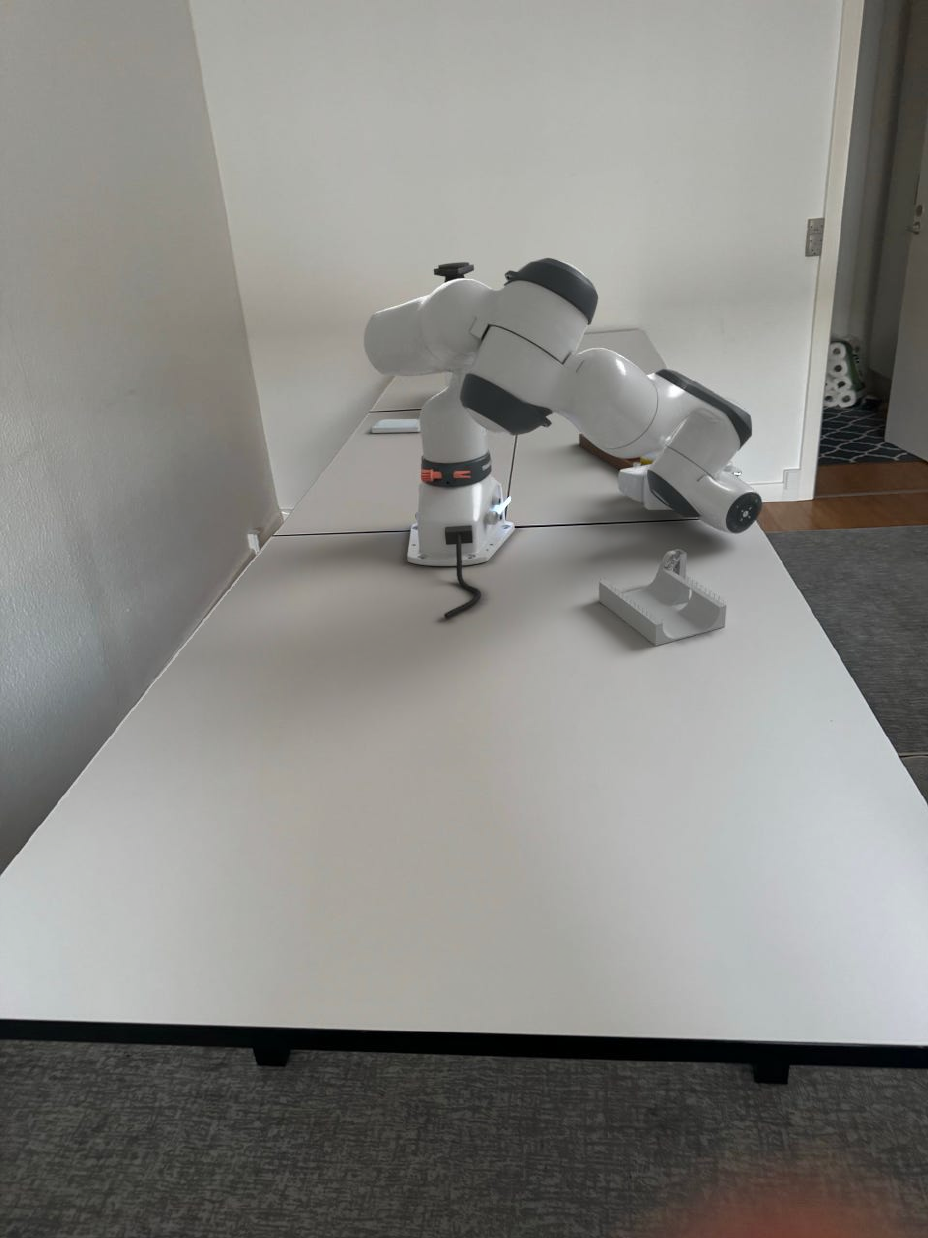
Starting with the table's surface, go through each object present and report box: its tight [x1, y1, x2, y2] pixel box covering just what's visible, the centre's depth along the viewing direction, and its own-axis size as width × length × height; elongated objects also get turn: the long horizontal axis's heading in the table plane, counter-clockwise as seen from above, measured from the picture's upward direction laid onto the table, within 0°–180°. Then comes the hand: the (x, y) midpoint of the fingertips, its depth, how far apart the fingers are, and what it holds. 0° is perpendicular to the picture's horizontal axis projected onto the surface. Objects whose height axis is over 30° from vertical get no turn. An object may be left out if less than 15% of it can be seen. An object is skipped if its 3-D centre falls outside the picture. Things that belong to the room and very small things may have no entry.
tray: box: [578, 433, 640, 471], centre depth 177 cm, size 32×13×2 cm, turn 16°
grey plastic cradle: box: [598, 548, 727, 647], centre depth 115 cm, size 15×13×5 cm
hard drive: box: [371, 418, 421, 434], centre depth 216 cm, size 2×8×12 cm
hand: (654, 462), depth 155 cm, fingers closed on pill bottle, 6 cm apart
